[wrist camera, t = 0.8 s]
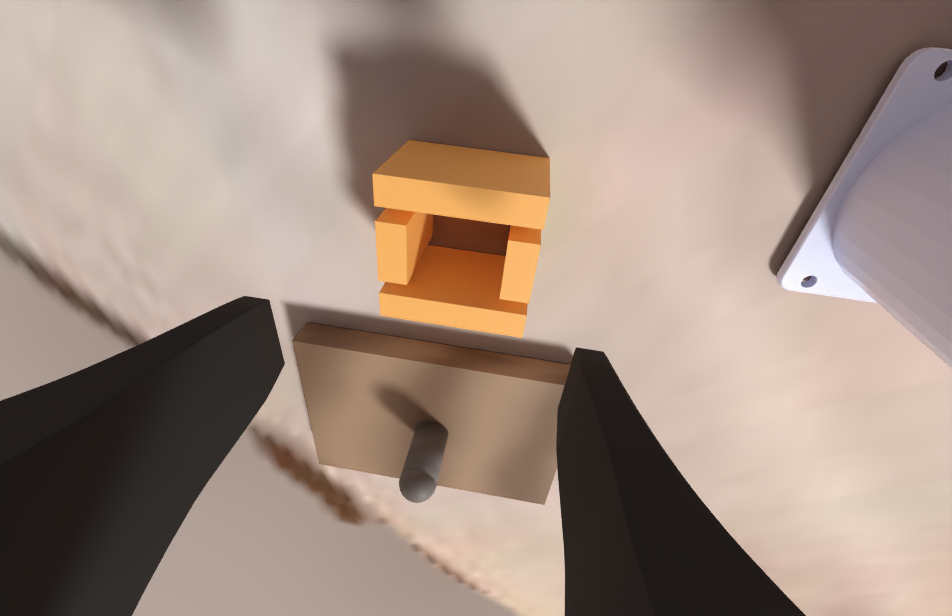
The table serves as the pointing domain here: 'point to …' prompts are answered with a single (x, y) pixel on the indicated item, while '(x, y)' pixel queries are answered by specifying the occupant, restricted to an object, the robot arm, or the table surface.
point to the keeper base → (431, 412)
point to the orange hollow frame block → (453, 270)
